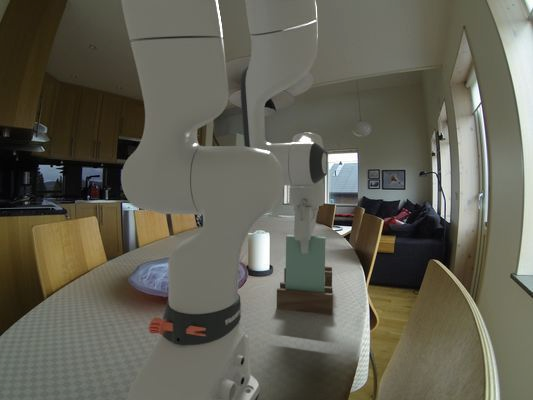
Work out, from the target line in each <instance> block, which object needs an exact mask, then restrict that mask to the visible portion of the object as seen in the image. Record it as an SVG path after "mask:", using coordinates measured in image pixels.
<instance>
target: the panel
mask: <svg viewBox="0 0 533 400" xmlns="http://www.w3.org/2000/svg"><path fill="white" fill-rule="evenodd" d="M325 266H326V236H318V235H317V236H315V235H312V236H311V238H310V240H309V252H308V253H307V254H303V253H301V242H300V241H299V240H295V238H294V234H287V235H286V237H285V268H286V286H285V289H292V290H302V291H312V292H322V293H324V289H325Z"/></svg>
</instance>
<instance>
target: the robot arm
mask: <svg viewBox="0 0 533 400" xmlns="http://www.w3.org/2000/svg"><path fill="white" fill-rule="evenodd" d="M244 2H245V9H246V10H245V12H246V17H247V23H248V31H249V34H250V35H249V36H250V43H251V45H250V46H251V50H250V51H251V52H250V61H249V64H248V66H247V67H246V68H245V69H243V72H242V74H241V78H240V79H241V80H240V106H241V107H240V108H241V122H242V131H243V143H244V145H226V146H224V145H221V146H219V145H217V146H213V145H211V146H209V145H208V146H204V145H200V143H199V141H198V130H199V129H200V128H202V127H204V126H206V125H207V124H209V123H211V122H212V121H214V120H215V119H216V118H218V117H220V115H221V114H223V112H224V111H225V109H226V107H227V105H228V102H229V97H230V91H229V82H228V73H227V63H226V55H225V43H224V39H223V38H224V35H223V27H222V21H221V15H220V14H221V13H220V9H219V0H121V6H122V7H121V8H122V13H123V16H124V22H125V26H126V31H127V35H128V39H129V41H130V42H129V43H130V46H131V50H132V54H133V58H134V62H135V63H134V64H135V67H136V71H137V74H138V80H139V84H140V89H141V95H142V99H143V106H144V114H145V115H144V126H143V133H142V137H141V140H140V142H139V144H138V146H137V147H136V149H135V150H134V151H133V153H131V154H130V156H128V158H127V159H126V161H125V163H124V164H123V167H122V170H121V173H120V175H121V176H120V181H121V188H122V191H123V194H124V195H125V198H126V200H128V202H129V203H130V204H131V205H132V206H133V207H135V208H137V209H140V210H145V211H149V212H153V213H158V214H161V215H162V214H163V215H198V216H199V215H200V216H203V223H202V224H203V225H202V228H201V230H200V232H199V233H196V234H194V235H191V236H190V237H188V238H187V239H184V240H183V241H181V242H180V243H178V244H177V245H176V246H175V247H174V248H173V250H172V251H171V253H170V255H169V257H168V268H167V269H168V271H167V272H168V274H167V275H168V278H167V279H168V283H167V284H168V286H167V287H168V299H167V301H166V304H165V307H164V310H163V314H162V318H159V317H154V318H152V319H151V321H150V323H149V325H148V332H149V333H150V334H159V336H158V339H157V340H156V342H155V344H154V346H152V349H151V351H150V353H149V355H148V356H147V358H146V360H145V362H144V363H143V364H142V366H141V369H140V371H139V372H138V374H137V376H136V378H135V379H134V381H133V383H132V384H131V387H130V389H129V391H128V394H127V398H126V400H256V398H257V396H259V393H260V384H259V382H258V380H257V379H256V378H255V377H254V376H253V375H252V374H251V353H250V340H249V336H248V335H247V333H246V332H245V330H244V328H243V327H242V325H241V322H240V321H241V317H242V315H241V313H242V302H241V295H240V294H239V271H240V260H241V259H240V258H241V253H242V249H243V245H244V244H245V239H246V238H247V236H248V234H249V232H250V231H251V230H252V228H253V227H254V226H255V224H256V223H257V222H259V220H260V219H261V218H262V217H264V216H265V215H266V214H267V213H269V212H270V211H272V209H273V208H275V207H276V205H277V204H278V202H279V201H280V198H281V197H282V194H283V192H284V187H285V186H289V187H288V190H289V192H288V193H289V194H288V204H289V205H290V206H293V212H294V222H293V224H294V225H293V226H294V227H293V235H294V238H295V240H299V241H300V242H301V253H303V254H307V253H308V252H309V240H310V238H311V236H313V233H314V230H315V228H316V223H317V222H316V221H317V215H318V212H319V207H322V206H324V205H325V204H324V202H325V199H324V197H325V185H324V181H323V179H324V178H325V177H327V175H328V153H327V150H325V149H324V143H323V138H322V137H321V135H319V134H318V133H314V132H299V133H297V134H295V135H294V136H293V137H292V141H291V142H282V143H279V142H278V143H271V142H268V141H267V140H266V129H265V128H266V126H265V125H266V124H265V105H266V103H267V102H268V101H269V100H270V99H272V98H273V97H275V96H276V95H277V94H279V93H282V92H283V91H285V90H287V89H289V88H290V87H292V86H293V85H295V84H296V83H298V82H300V81H301V79H303V78H304V77H305V76H306V75H307V74H308V72H310V70H311V69H312V67H313V65H314V64H315V60H316V58H317V56H318V42H319V39H318V38H319V35H318V34H319V32H318V30H319V29H318V26H319V25H318V12H317V11H318V10H317V9H318V8H317V2H316V0H244Z"/></svg>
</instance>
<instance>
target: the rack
mask: <svg viewBox="0 0 533 400" xmlns="http://www.w3.org/2000/svg"><path fill="white" fill-rule="evenodd" d="M283 273H284V275H283V281H281V282H279V287H277V288H276V310H284V311H291V312H292V311H293V312H301V313H307V314H308V313H310V314H317V315H326V316H333V305H334V303H333V300H334V297H333V296H334V293H333V267H332V266H326V265H325V289H324V293H322V292H312V291H302V290H292V289H285V286H286V267H284V269H283Z"/></svg>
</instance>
